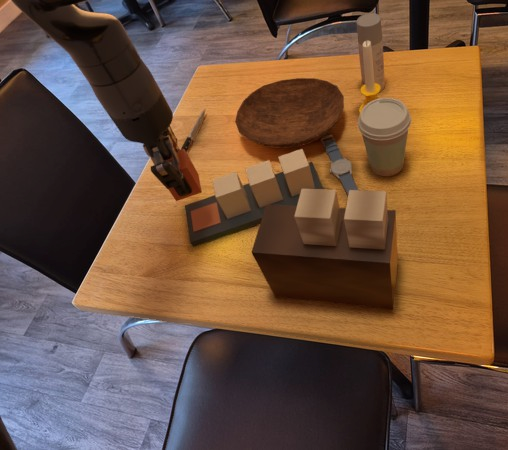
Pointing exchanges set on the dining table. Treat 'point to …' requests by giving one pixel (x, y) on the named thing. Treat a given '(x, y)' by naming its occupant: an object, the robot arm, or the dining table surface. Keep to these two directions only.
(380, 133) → the coffee cup
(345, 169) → the wristwatch
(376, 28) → the container
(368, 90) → the candle
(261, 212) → the far board
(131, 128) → the robot arm
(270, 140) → the bowl
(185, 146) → the knife
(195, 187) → the red-brown rectangular block
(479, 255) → the dining table surface
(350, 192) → the stand
